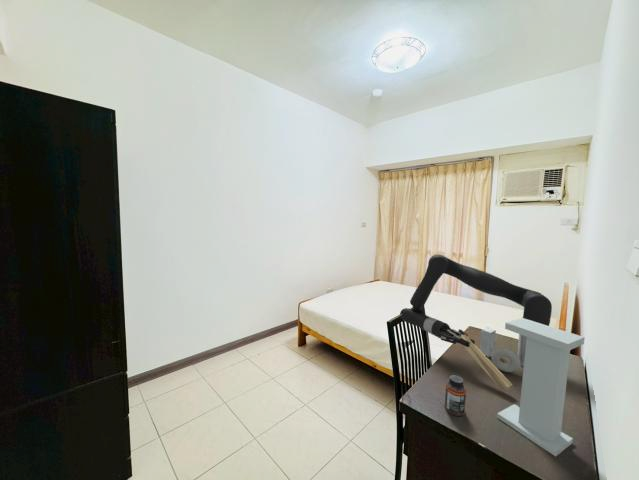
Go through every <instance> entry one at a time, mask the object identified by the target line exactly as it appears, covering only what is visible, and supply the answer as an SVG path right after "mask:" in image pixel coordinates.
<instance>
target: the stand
mask: <svg viewBox="0 0 639 480" xmlns="http://www.w3.org/2000/svg"><path fill="white" fill-rule="evenodd" d="M504 329H505V330H507V331H510V332H514V333H515V334H518V335H519V334H521V335H524V336H526V337H527V339H526V349H525V359H524V367H523V371H522V372H523V373H522V379H521V391H520V393H521V394H520V401H519V402H520V403H519V406H518V405H517V404H515V403H514V404H512V405H510V406H508V407H506V408H504V409H503V410H500V411H498V412H497V413H496V415H497V416H496V418H497V419H498V420H500V421H501V422H503V423H505V424H506V425H507V426H509V427H511V429H513V430H515V431H517V433H520V435H523V436H524V437H525V438H527V439H529V440H530V441H532V442H533V443H535V444H536V445H538V446H539V447H541V448H542V449H544V450H545V451H547V452H548V453H549V454H551V455H553V456H554V457H557V456H558V455H560V454H561V453H562V452H563V451H565V449H567V448H568V447H570V446H571V445H572V444H573V439H574V438H573V437H571V436H570V435H568V434H566V433H564V432H562V428H563V426H562V425H563V416H564V410H565V408H564V407H565V400H566V399H565V398H566V392H567V391H566V389H567V383H568V372H569V365H570V356H571V350H573V349H576V348H578V347H580V346H583V345H584V344H585V337H584V336H582V335H579V334H577V333H573V332H568V331H566V330H563V329H559V328H556V327H553V326H550V325H549V326H547V325H544V324H540V323H537V322H534V321H531V320H528V319H524V318H523V317H521V318H518V319H515V320H511V321H507V322H505V326H504Z"/></svg>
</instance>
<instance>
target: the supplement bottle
mask: <svg viewBox="0 0 639 480" xmlns="http://www.w3.org/2000/svg"><path fill="white" fill-rule="evenodd" d="M466 396H467V388H466V386H465V384H464V379H463V378H462V377H461V376H459V375H455V374H452V375H449V379H448V381H447V382H446V384H445V399H444V408H445V410H446V411H447V412H448V413H449V414H450V415H452V416H455V417H461V416H463V415H465V413H466V411H465V409H466V401H467V397H466Z"/></svg>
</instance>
